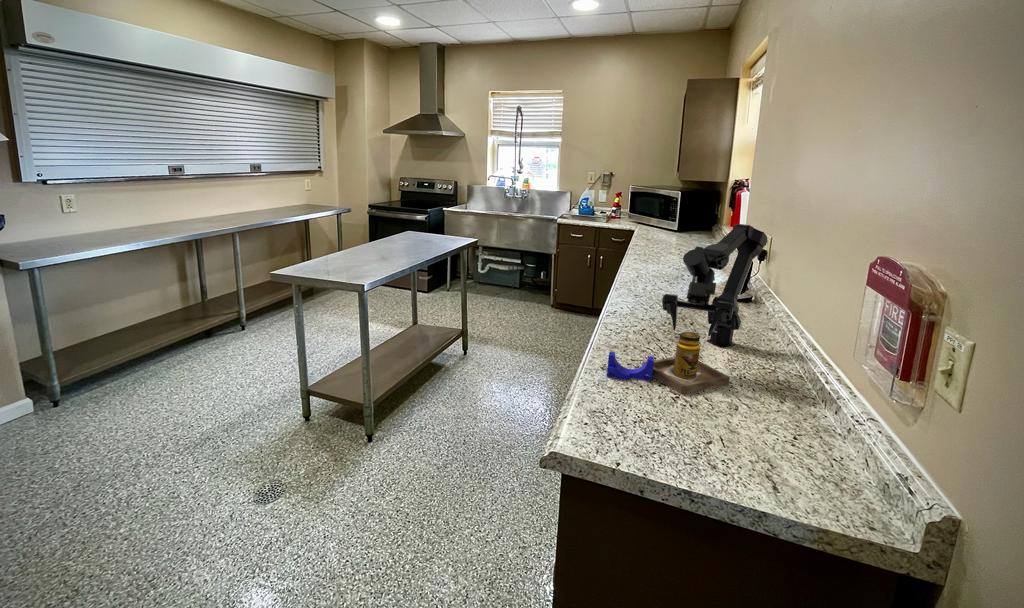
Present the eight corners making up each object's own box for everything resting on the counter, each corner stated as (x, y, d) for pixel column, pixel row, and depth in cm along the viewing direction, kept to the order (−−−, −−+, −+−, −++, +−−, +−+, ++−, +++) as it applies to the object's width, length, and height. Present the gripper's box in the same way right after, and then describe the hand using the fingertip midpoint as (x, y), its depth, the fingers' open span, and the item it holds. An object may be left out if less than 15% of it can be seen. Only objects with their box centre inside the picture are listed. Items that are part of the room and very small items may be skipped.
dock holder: (686, 361, 150) (687, 354, 149) (728, 384, 135) (730, 377, 135) (641, 369, 143) (642, 362, 143) (680, 394, 129) (681, 386, 128)
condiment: (692, 382, 134) (698, 341, 131) (661, 374, 139) (666, 333, 136) (701, 374, 140) (707, 333, 137) (671, 366, 145) (676, 326, 141)
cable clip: (606, 377, 138) (608, 357, 136) (607, 371, 142) (609, 351, 141) (651, 383, 135) (653, 363, 134) (651, 376, 139) (653, 356, 138)
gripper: (666, 266, 142) (654, 313, 136) (738, 274, 134) (728, 325, 128) (668, 286, 151) (657, 332, 145) (735, 295, 144) (726, 344, 137)
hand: (691, 333), depth 139 cm, fingers open, 9 cm apart
